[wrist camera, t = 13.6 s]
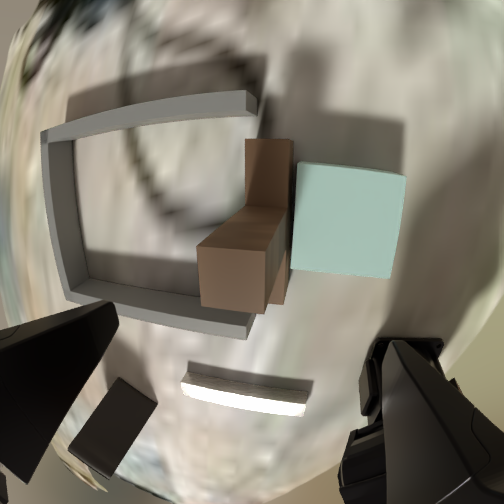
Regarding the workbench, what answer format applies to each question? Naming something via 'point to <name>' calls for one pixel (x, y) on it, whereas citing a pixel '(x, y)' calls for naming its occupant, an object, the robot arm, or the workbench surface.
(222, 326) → the cubby
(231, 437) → the workbench surface
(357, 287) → the workbench surface
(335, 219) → the teal block
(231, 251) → the wooden l-shaped block
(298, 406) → the steel bar
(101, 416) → the phone stand
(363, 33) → the workbench surface
